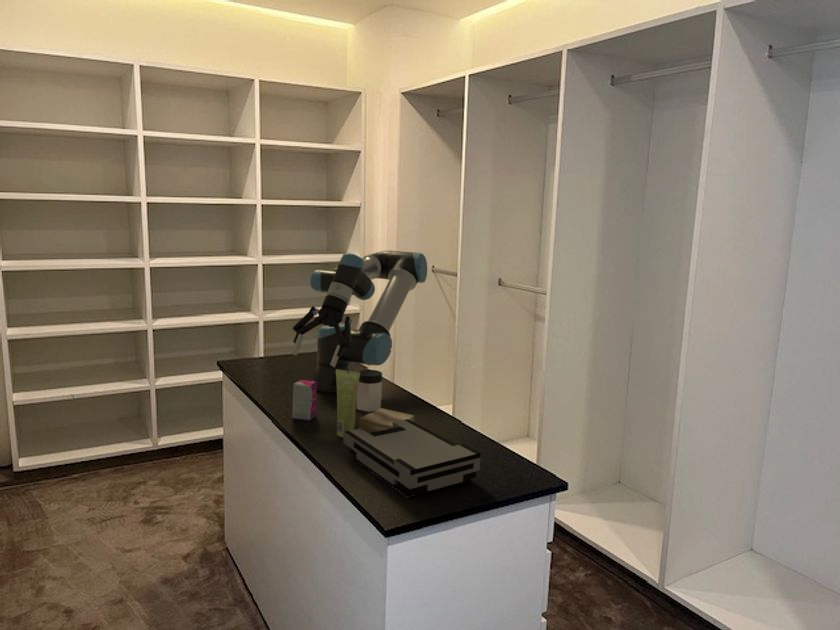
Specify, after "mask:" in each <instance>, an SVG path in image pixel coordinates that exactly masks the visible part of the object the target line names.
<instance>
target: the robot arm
mask: <svg viewBox="0 0 840 630" xmlns="http://www.w3.org/2000/svg"><path fill="white" fill-rule="evenodd" d="M337 263H338V265H337V267H334V268H332V269H327V270H326V269H325V270H324V269H316V270H314V271H313V272H312V274H311V276H310V282H309V283H310V287H311V288H312V290H313V291H315V292H319V293H327V295H326V296H325V297H324V299H323V301H322V305H321V307H320V309H319V308H317V307H315V306H311V307H310V309H309V310H308V311H307V313H306V314H305V315H304V316H303V317H302V318H300V320H299V321H298V322H297V323H296V324H295V325H294V326H293V327H292V330H293V331H294V332H296V333H295V337H294V339H293V343H294V345H293V348H292V350H291V353H292V354H293V356H298V353H299V350H300V349H301V346H302V343H303V341H304V339H305V336H304V334H306V333H308V332H310V331H311V330H313V329H314V328H316V327H318V326H320V327H319V328H318V330H317V337H316V340H317V345H316V346H317V351H316V353H317V356H316V357H317V363H316V365H317V366H316V368H315V372H314V375H313V378H312V380H311V381H315V382H317V388H316V391H318V392H323V393H337V381H336V369H338V370H345V371H352V370H351V367H350V363H353V364H355V363H356V364H362V365H366V366H381V365H383V364H385V363H386V361H387V360H389V357H390V354H391V352H392V349H393V348H392V347H393V340H392V337H391V333H390V331H391V329H392V326H393V324H394V322H395V321H396V319H397V316H398V315H399V312H400V310H401V308H402V306H403V304H404V302H405V300H406V298H407V296H408V294H409V292H410V291H413V290H414V289H415V288H416V286H417V284H418V283H419V284H421V283H425V282H426V280H427V277H428V262H427V258H426V256H425V255H424V253H422V252H421V253H420V252H416V251H412V252H411V251H400V250H381V251H378V252H374V253H369V254H368V255H365V256H363V257H360V256H359V255H357V254H354V253H351V252H345V253H343V254H342V255H341V258H340V260H339V262H337ZM375 279H380V280H381V279H382V280H387V281H388V282H387V285H386V286H385V288H384V291H383V292H382V294H381V296H380V298H379V299H378V301H377V303H376V305H375V307H374V309H373V310H372V313H371V315H370V316H369V319H368V320H367V321H366V320H365V321H364V322H362V323H361V325H360V326H359V328H358V329H352V326H351V325H352V318H351V317H350V316H349V315H348V316H344V315H345V312H346V310H347V308H348V305H349V304H348V303H349V302H350V300H351V297H352V296H354V297H355V298H357V299H359V300H361V301H366V300H369V299H371V298H372V297H373V296H374V294H375V291H376V287H375V286H376V285H375V284H374V282H373V281H372V280H375ZM316 315H318V316H317V317H315V316H316ZM314 317H315V318H314ZM313 318H314V319H313ZM312 319H313V320H312ZM311 320H312V321H311ZM341 322H343V323H341ZM321 325H322V326H321Z"/></svg>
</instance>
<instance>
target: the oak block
mask: <svg viewBox="0 0 840 630" xmlns="http://www.w3.org/2000/svg"><path fill="white" fill-rule="evenodd" d="M406 419H409V420H411V421H413V422H415V415H413V414H409V413H406V412H405V413H404V412H400V411H396V410H391V409H388V408H383V407H381V408H380V409H378V410H376V411H371V412H369V413H367V414H365V415H364V416H361V417H360V418H358V420H359V421H358V429H359V428H361V429H363V430H364V431H366V432H367V433H371V432H376V431H381V430H386V429H391V428H393V422H395V421H401V420H406Z"/></svg>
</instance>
